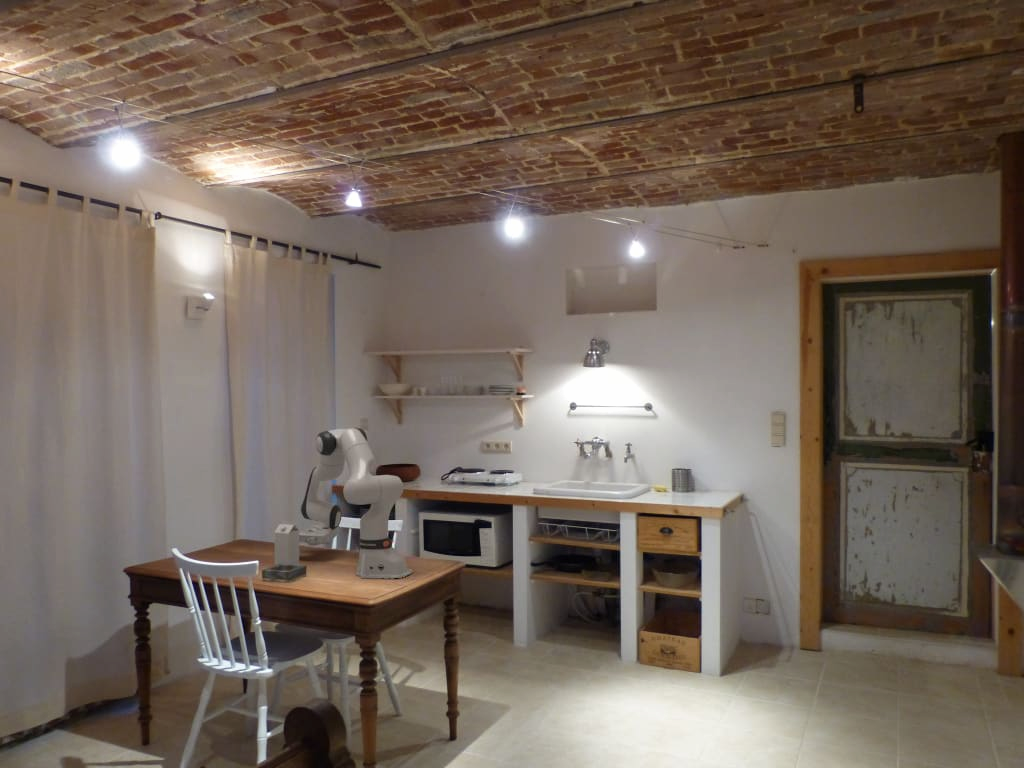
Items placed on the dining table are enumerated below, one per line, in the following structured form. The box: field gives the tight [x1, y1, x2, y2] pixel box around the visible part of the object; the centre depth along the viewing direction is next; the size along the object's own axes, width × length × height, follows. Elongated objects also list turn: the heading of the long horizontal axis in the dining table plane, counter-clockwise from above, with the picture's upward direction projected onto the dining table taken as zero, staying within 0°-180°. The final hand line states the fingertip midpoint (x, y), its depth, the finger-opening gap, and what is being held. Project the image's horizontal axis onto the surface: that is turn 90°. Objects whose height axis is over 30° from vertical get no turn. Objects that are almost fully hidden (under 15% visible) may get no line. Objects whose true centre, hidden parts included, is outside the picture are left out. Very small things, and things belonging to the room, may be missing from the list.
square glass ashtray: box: [261, 564, 307, 583], centre depth 298 cm, size 12×12×4 cm
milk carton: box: [274, 520, 300, 566], centre depth 318 cm, size 7×7×19 cm
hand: (297, 540), depth 325 cm, fingers open, 8 cm apart
